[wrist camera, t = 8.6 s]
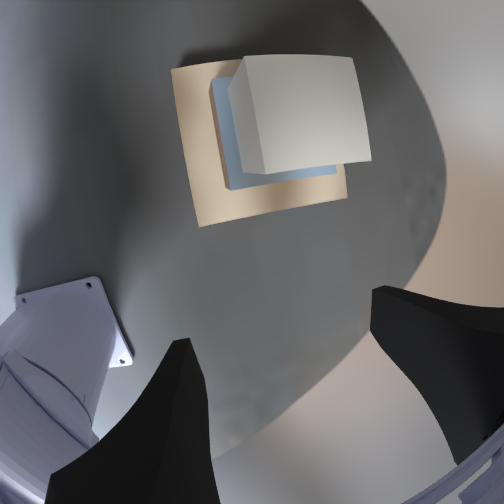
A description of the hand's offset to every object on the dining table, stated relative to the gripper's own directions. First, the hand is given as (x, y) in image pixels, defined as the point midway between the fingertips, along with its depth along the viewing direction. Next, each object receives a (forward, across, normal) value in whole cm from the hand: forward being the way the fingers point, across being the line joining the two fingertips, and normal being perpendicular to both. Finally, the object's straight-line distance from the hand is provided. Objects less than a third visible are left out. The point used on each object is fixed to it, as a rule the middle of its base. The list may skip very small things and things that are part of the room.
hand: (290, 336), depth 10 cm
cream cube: (+6, -2, -8) cm, 10 cm away
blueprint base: (+10, -2, -8) cm, 13 cm away
